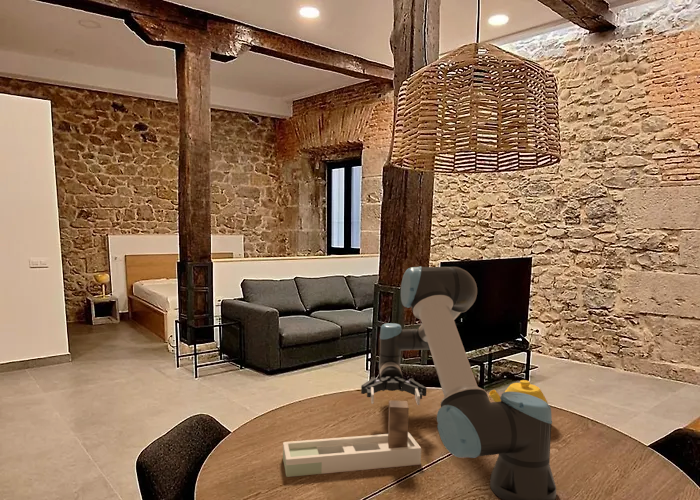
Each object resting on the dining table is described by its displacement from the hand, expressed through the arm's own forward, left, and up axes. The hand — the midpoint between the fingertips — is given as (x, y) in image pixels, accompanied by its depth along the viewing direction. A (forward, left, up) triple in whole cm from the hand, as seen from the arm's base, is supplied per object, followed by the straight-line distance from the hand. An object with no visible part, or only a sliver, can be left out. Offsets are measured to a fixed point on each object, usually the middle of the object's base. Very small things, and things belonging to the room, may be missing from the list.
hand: (395, 399), depth 144 cm
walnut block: (0, +10, -9) cm, 14 cm away
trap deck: (+12, +13, -12) cm, 22 cm away
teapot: (-42, -17, -13) cm, 47 cm away
